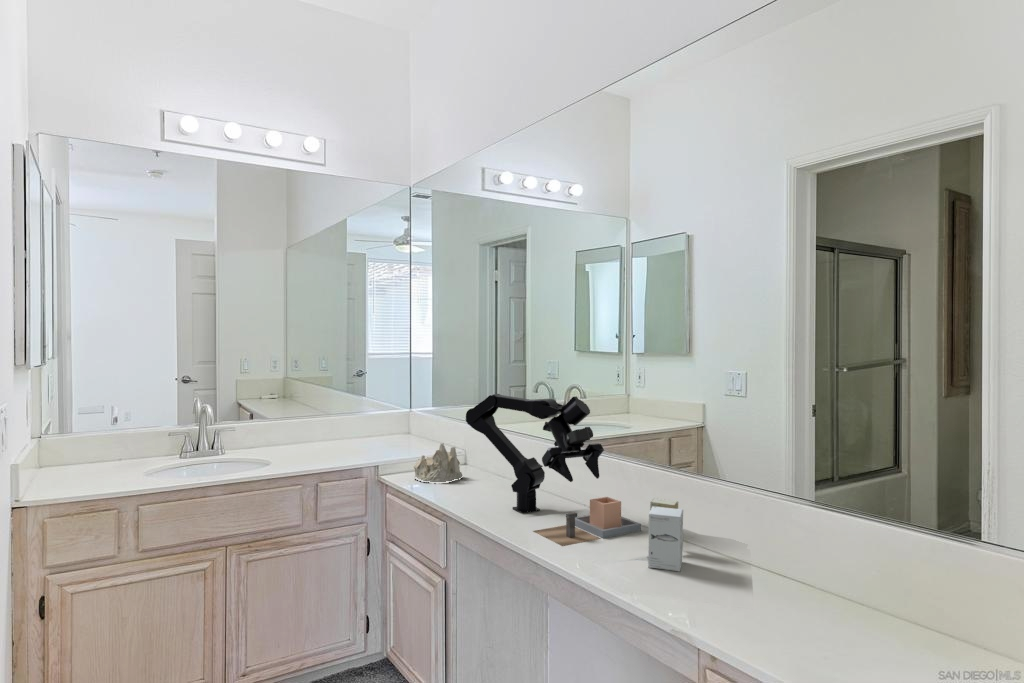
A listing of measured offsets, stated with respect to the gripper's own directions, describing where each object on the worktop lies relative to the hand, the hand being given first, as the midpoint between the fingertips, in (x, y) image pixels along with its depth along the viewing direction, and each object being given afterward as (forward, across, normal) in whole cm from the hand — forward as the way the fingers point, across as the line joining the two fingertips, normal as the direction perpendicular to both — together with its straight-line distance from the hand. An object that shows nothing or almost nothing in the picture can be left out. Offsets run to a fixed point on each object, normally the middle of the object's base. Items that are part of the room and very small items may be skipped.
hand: (585, 479), depth 173 cm
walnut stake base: (+14, -12, +4) cm, 19 cm away
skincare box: (+27, +5, -9) cm, 29 cm away
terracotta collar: (+14, +1, +4) cm, 14 cm away
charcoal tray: (+14, +2, +4) cm, 15 cm away
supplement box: (+33, -2, -14) cm, 36 cm away
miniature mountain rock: (-44, -11, +64) cm, 78 cm away
